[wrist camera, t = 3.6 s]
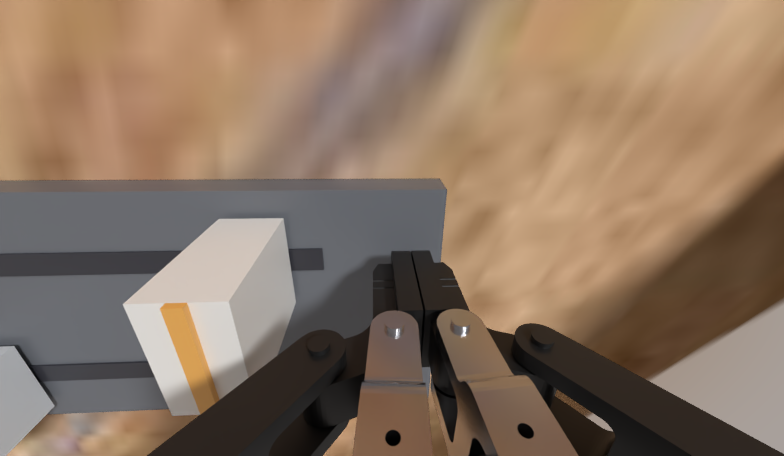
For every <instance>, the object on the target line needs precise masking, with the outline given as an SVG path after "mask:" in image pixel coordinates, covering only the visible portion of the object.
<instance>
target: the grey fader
mask: <svg viewBox="0 0 784 456" xmlns="http://www.w3.org/2000/svg"><path fill="white" fill-rule="evenodd" d="M53 407H54V404H53V403H52V401H51V400H50V398H49V397H48V395H47V394H46V392H45V391H44V390H43V388H42V387H41V385H40V384H39V382H38V381H37V379H36V378H35V376H34V375H33V373H32V372H31V370H30V369H29V367H28V366H27V364H26V363H25V361H24V360H23V359H22V357H21V356H20V354H19V353H18V351H17V350H16V348H15V347H14V346H3V347H0V456H6V455H7V454H8V453H9V452H10V451H11V450H12V449H13V448H14V447H15V446H16V445H17V444H18V443H19V442H20V441H21V440H22V439H23V438H24V437H25V436H26V435H27V434H28V433H29V432H30V431H31V430H32V429H33V428H34V427H35V426H36V425H37V424H38V423H39V422H40V421H41V420H42V419H43V418H44V417H45V416H46V414H47V413H48V412H49V411H50V410H51V409H52V408H53Z"/></svg>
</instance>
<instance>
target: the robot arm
mask: <svg viewBox="0 0 784 456" xmlns="http://www.w3.org/2000/svg"><path fill="white" fill-rule="evenodd" d="M422 367H430V370H431V375H432V377H431V392H432V396H433V399H434V403H435V407H436V410H437V414H438V417H439V421H440V425H441V428H442V432H443V436H444V439H445V443H446V447H447V451H448V456H784V454H783V453H781V452H779V451H777V450H775V449H773V448H771V447H769V446H768V445H766V444H764V443H762V442H760V441H758V440H757V439H754V438H753V437H751V436H749V435H747V434H746V433H744V432H742V431H740V430H738V429H736V428H734V427H733V426H731V425H729V424H727V423H725V422H723V421H721V420H720V419H718V418H716V417H714V416H712V415H710V414H708V413H706V412H705V411H703V410H701V409H699V408H697V407H695V406H694V405H692V404H690V403H688V402H686V401H684V400H683V399H681V398H679V397H677V396H675V395H673V394H671V393H669V392H668V391H666V390H664V389H662V388H660V387H659V386H657V385H655V384H653V383H651V382H649V381H647V380H646V379H644V378H642V377H640V376H638V375H636V374H634V373H633V372H631V371H629V370H627V369H625V368H623V367H621V366H620V365H618V364H616V363H614V362H612V361H610V360H609V359H607V358H605V357H603V356H601V355H599V354H597V353H596V352H594V351H592V350H590V349H588V348H586V347H584V346H583V345H581V344H579V343H577V342H575V341H573V340H572V339H570V338H568V337H566V336H564V335H562V334H560V333H559V332H557V331H555V330H553V329H551V328H549V327H546V326H544V325H540V324H532V323H530V324H523V325H521V326H519V327H518V328H517V329H516V331H515V335H513V334H508V333H503V332H498V331H494V330H491V329H488V328H486V326H485V325H484V323H483V321H482V320H481V319H480V318H479V317H478V316H477V315H475V314H474V313H472V312H470V311H469V309H468V306H467V304H466V302H465V299H464V297H463V295H462V292H461V290H460V288H459V287H458V283H457V281H456V279H455V276H454V274H453V271H452V269H451V268H449V267H448V266H447V265H446V264H445V263H444V262H440V263H434V261H433V258H432V255H431V252H430V250H415V251H411V252H410V251H391V264H378V265H377V266H376V268H375V269H374V270H373V320H372V322H371V324H370V326H369V327H368V328H367V329H366V330H365V331H363V332H362V333H360V334H358V335H355V336H352V337H349V338H346V339H344V338H343V337H342V336H341V335H340V334H339V333H337V332H335V331H332V330H327V329H321V330H315V331H312V332H309V333H307V334H305V335H304V336H302V337H301V338H300V339H298V340H297V341H296V342H294V343H293V344H292V345H290V346H289V347H288V348H287V349H285V350H284V351H283V352H281V353H280V354H279V355H277V356H276V357H275V358H274V359H272V360H271V361H270V362H268V363H267V364H266V365H264V366H263V367H262V368H261V369H259V370H258V371H257V372H255V373H254V374H253V375H251V376H250V377H249V378H248V379H246V380H245V381H244V382H242V383H241V384H240V385H238V386H237V387H236V388H234V389H233V390H232V391H231V392H229V393H228V394H227V395H225V396H224V397H223V398H221V399H220V400H219V401H218V402H216V403H215V404H214V405H212V406H211V407H210V408H208V409H207V410H206V411H205V412H203V413H202V414H201V415H199V416H198V417H197V418H195V419H194V420H193V421H192V422H190V423H189V424H188V425H186V426H185V427H184V428H182V429H181V430H180V431H179V432H177V433H176V434H175V435H173V436H172V437H171V438H169V439H168V440H167V441H165V442H164V443H163V444H162V445H160V446H159V447H158V448H156V449H155V450H154V451H152V452H151V453H150V454H149V455H147V456H323V454H324V453H325V452H326V451H327V450H328V448H329V447H330V446H331V445H332V444H333V442H334V441H335V440H336V439H337V438H338V436H339V435H340V434H341V433H342V432H343V430H344V429H345V428H346V426H347V424H348V422H349V420H350V419H352V418H355V417H357V423H356V431H355V439H354V448H353V456H433V450H432V440H431V429H430V419H429V408H428V397H427V388H426V383H423V376H422ZM557 389H558V390H559V391H561V392H562V393H564V394H565V395H567V396H568V397H570V398H571V399H573V400H574V401H576V402H577V403H579V404H580V405H582V406H583V407H585V408H586V409H588V410H589V411H591V412H592V413H594V414H595V415H597V416H598V417H600V418H602V419H603V420H604V421H606V423H608V424H609V426H610V427H611V428H612V429H613V431H614V432H612V431H607V430H605V429H603V428H601V427H600V426H598V425H597V424H595V423H594V422H592V421H591V420H589V419H588V418H586V417H585V416H583V415H582V414H581V413H579V412H578V411H576V410H575V409H573V408H572V407H570V406H569V405H567V404H566V403H564V402H563V401H561V400H560V399H559V398H557V397H556V396H555V394H556V391H557Z"/></svg>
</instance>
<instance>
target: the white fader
mask: <svg viewBox="0 0 784 456" xmlns="http://www.w3.org/2000/svg"><path fill="white" fill-rule="evenodd" d="M295 304H296V299H295V292H294V286H293V279H292V272H291V265H290V259H289V252H288V245H287V239H286V232H285V225H284V218H250V219H218V220H217V221H216V222H215V223H214V224H212V225H211V226H210V227H209V228H208V229H207V230H206V231H205V232H203V233H202V234H201V235H200V236H199V237H198V238H197V239H196V240H194V241H193V242H192V243H191V244H190V245H189V246H188V247H187V248H185V249H184V250H183V251H182V252H181V253H180V254H179V255H178V256H176V257H175V258H174V259H173V260H172V261H171V262H170V263H169V264H167V265H166V266H165V267H164V268H163V269H162V270H161V271H160V272H158V273H157V274H156V275H155V276H154V277H153V278H152V279H151V280H149V281H148V282H147V283H146V284H145V285H144V286H143V287H142V288H140V289H139V290H138V291H137V292H136V293H135V294H134V295H133V296H131V297H130V298H129V299H128V300H127V301H126V302H125V303H124V304H123V306H124V309H125V311H126V313H127V315H128V318H129V320H130V322H131V324H132V327H133V329H134V331H135V333H136V336H137V338H138V340H139V342H140V345H141V347H142V349H143V351H144V354H145V356H146V358H147V360H148V363H149V365H150V367H151V369H152V372H153V374H154V376H155V378H156V381H157V383H158V385H159V387H160V390H161V392H162V394H163V396H164V399H165V401H166V403H167V405H168V408H169V410H170V412H171V414H172V416H182V415H201V414H202V413H203V412H205V411H206V410H207V409H208V408H210V407H211V406H212V405H214V404H215V403H216V402H218V401H219V400H220V399H221V398H223V397H224V396H225V395H227V394H228V393H229V392H231V391H232V390H233V389H234V388H236V387H237V386H238V385H240V384H241V383H242V382H244V381H245V380H246V379H248V378H249V377H250V376H251V375H253V374H254V373H255V372H257V371H258V370H259V369H261V368H262V367H263V366H264V365H266V364H267V363H268V362H270V361H271V360H272V359H274V358H275V357H276V356H277V355H278V352H279V349H280V347H281V344H282V341H283V338H284V335H285V332H286V329H287V327H288V324H289V321H290V318H291V315H292V312H293V309H294V306H295Z"/></svg>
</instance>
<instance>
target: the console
mask: <svg viewBox="0 0 784 456" xmlns="http://www.w3.org/2000/svg"><path fill="white" fill-rule="evenodd" d="M446 195H447V189H446V187H445V186H444V185H443V183H442V182H441V180H440V179H264V180H39V181H0V347H3V346H14V347H15V348H16V350H17V351H18V353H19V354H20V356H21V357H22V359H23V360H24V361H25V363H26V364H27V366H28V367H29V369H30V370H31V372H32V373H33V375H34V376H35V378H36V379H37V381H38V382H39V384H40V385H41V387H42V388H43V390H44V391H45V392H46V394H47V395H48V397H49V398H50V400H51V401H52V403H53V404H54V407H53V408H52V409H51V410H50V411H49V412H48V413H47V414H67V413H90V412H112V411H135V410H158V409H169V408H168V405H167V403H166V401H165V399H164V396H163V394H162V392H161V390H160V387H159V385H158V383H157V381H156V378H155V376H154V374H153V372H152V369H151V367H150V365H149V363H148V360H147V358H146V356H145V354H144V351H143V349H142V347H141V345H140V342H139V340H138V338H137V336H136V333H135V331H134V329H133V327H132V324H131V322H130V320H129V318H128V315H127V313H126V311H125V309H124V306H123V304H124V303H125V302H126V301H127V300H128V299H129V298H130V297H131V296H133V295H134V294H135V293H136V292H137V291H138V290H139V289H140V288H142V287H143V286H144V285H145V284H146V283H147V282H148V281H149V280H151V279H152V278H153V277H154V276H155V275H156V274H157V273H158V272H160V271H161V270H162V269H163V268H164V267H165V266H166V265H167V264H169V263H170V262H171V261H172V260H173V259H174V258H175V257H176V256H178V255H179V254H180V253H181V252H182V251H183V250H184V249H185V248H187V247H188V246H189V245H190V244H191V243H192V242H193V241H194V240H196V239H197V238H198V237H199V236H200V235H201V234H202V233H203V232H205V231H206V230H207V229H208V228H209V227H210V226H211V225H212V224H214V223H215V222H216V221H217V220H218V219H250V218H284V225H285V232H286V239H287V245H288V252H289V259H290V265H291V272H292V279H293V286H294V292H295V299H296V304H295V306H294V309H293V312H292V315H291V318H290V321H289V324H288V327H287V329H286V332H285V335H284V338H283V341H282V344H281V347H280V349H279V352H278V355H279V354H280V353H281V352H283V351H284V350H285V349H287V348H288V347H289V346H290V345H292V344H293V343H294V342H296V341H297V340H298V339H300V338H301V337H302V336H304V335H305V334H307V333H309V332H312V331H315V330H321V329H327V330H332V331H335V332H337V333H339V334H340V335H341V336H342V337H343V338H344V339H346V338H349V337H352V336H355V335H358V334H360V333H362V332H363V331H365V330H366V329H367V328H368V327H369V326H370V324H371V322H372V320H373V270H374V269H375V268H376V266H377V265H378V264H391V251H410V252H411V251H415V250H430V252H431V255H432V258H433V261H434V263H440V261H441V250H442V239H443V228H444V217H445V206H446ZM430 372H431V370H430V367H422V376H423V383H426V388H427V397H428V394H429V383H430Z"/></svg>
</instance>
